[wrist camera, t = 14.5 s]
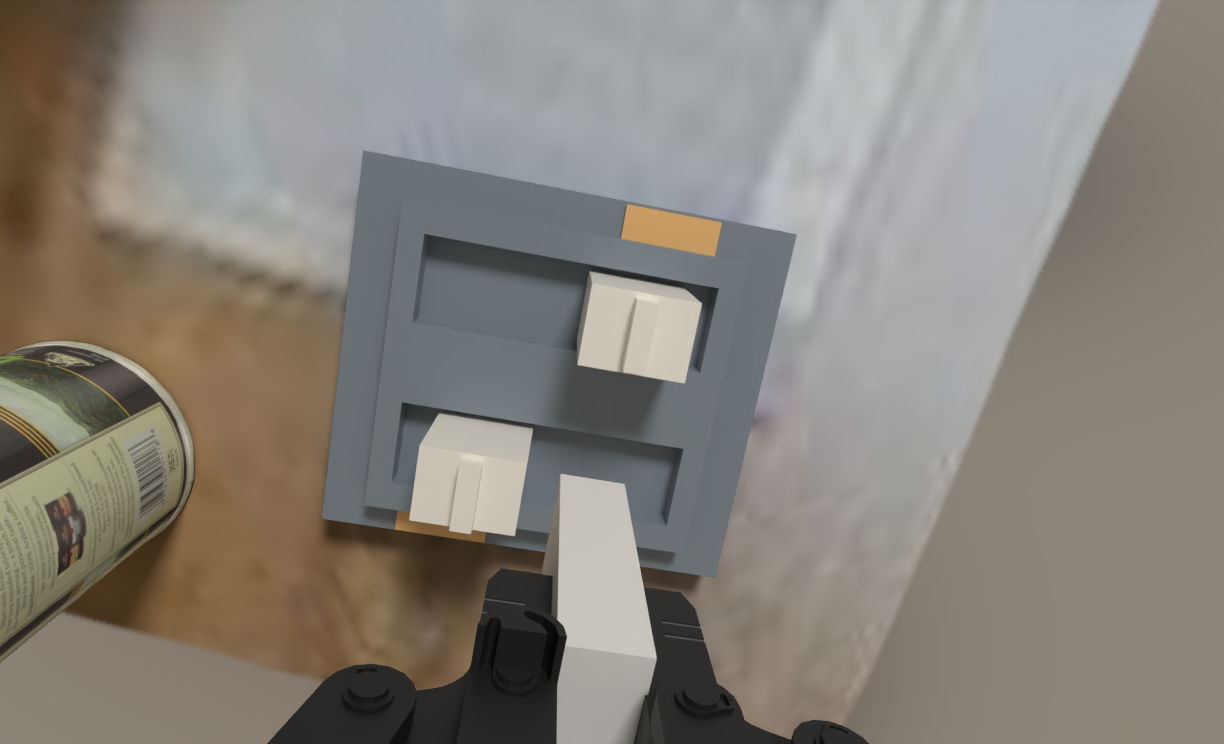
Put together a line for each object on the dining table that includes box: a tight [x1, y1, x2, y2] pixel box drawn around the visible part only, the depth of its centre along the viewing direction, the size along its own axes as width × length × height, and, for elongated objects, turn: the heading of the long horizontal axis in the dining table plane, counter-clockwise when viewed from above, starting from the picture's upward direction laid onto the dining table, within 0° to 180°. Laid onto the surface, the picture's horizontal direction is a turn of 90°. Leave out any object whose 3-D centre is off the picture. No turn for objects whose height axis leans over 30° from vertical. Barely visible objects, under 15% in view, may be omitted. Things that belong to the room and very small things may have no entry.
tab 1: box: [409, 409, 534, 536], centre depth 31 cm, size 4×3×6 cm
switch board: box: [322, 151, 797, 578], centre depth 33 cm, size 18×16×3 cm
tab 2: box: [577, 269, 702, 383], centre depth 30 cm, size 4×3×6 cm
